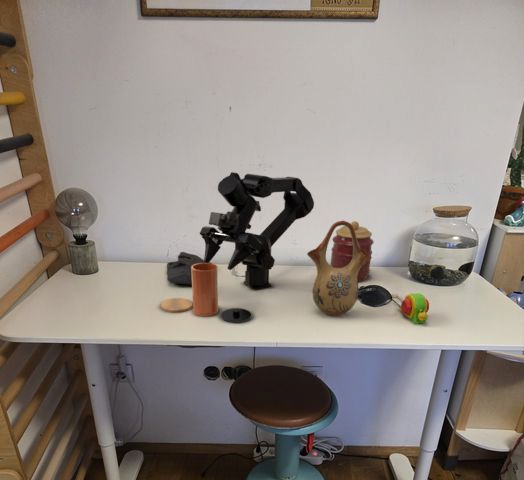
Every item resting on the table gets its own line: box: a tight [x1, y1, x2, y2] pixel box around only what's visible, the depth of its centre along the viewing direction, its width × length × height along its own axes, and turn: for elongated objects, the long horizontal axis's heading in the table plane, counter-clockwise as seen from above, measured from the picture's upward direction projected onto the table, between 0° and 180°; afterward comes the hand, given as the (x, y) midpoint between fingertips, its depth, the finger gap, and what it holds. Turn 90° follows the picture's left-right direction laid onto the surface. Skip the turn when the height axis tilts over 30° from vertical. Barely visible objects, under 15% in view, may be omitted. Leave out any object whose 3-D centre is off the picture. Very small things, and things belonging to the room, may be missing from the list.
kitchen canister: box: [329, 220, 375, 282], centre depth 149 cm, size 13×13×18 cm
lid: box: [220, 307, 252, 324], centre depth 123 cm, size 8×8×2 cm
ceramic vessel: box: [306, 220, 372, 317], centre depth 121 cm, size 16×9×25 cm, turn 85°
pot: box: [191, 262, 219, 317], centre depth 123 cm, size 7×7×12 cm
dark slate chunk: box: [166, 251, 211, 286], centre depth 149 cm, size 15×22×5 cm
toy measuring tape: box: [390, 292, 430, 324], centre depth 128 cm, size 6×20×7 cm, turn 9°
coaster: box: [160, 297, 193, 313], centre depth 129 cm, size 8×8×1 cm
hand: (216, 266), depth 126 cm, fingers open, 9 cm apart
